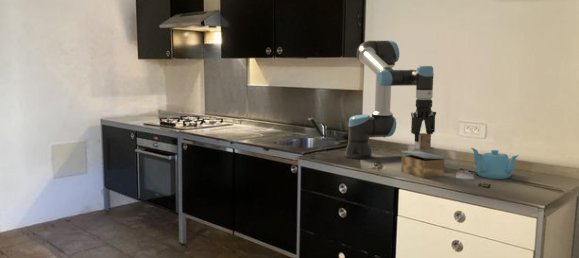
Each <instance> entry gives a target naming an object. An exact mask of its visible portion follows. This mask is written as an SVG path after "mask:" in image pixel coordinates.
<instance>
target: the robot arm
mask: <svg viewBox="0 0 579 258" xmlns="http://www.w3.org/2000/svg"><path fill="white" fill-rule="evenodd" d="M356 58H357V60H358V61H359V62H360V63H361V64H363V65H366V66H367V67H368V68H369V69H370V70H371V71H372V72H373V73H374V74H375V89H374V91H375V93H374V94H375V95H374V111H373V112H371V116H370V115H369V114H358V115H357V114H355V115H352V116H351V117H349V119H348V143H347V146H346V149H345V151H344V156H345V158H348V159H359V160H360V159H362V160H363V159H370V158H372V157H373V151H372V147H371V145H370V138H388V137H392V136H393V135H394V134H395V132H396V130H397V119H396V118H395V116H393V115H394V114H393V113H392V112H391V100H392V99H391V97H392V87H393V86H395V87H396V86H397V87H399V86H401V87H402V86H406V87H407V86H409V87H411V86H413V87H414V86H415V98H416V99H415V107H416V108H415V111H414V112H410V116H411V126H410V127H411V130H410V133H411V134H412V135H414V145H415V146H414V149H416V148H417V150H418V149H420V146H421V135H419V134H420V133H421V129H422V125H423V122H424V127H425V133H426V134H431V135H433V134H434V133H435V131H436V130H435V129H436V115H437V111H434V110H433V111H432V107H433V95H434V94H433V93H434V92H433V90H434V88H433V87H434V76H435V75H434V67H433V66H432V65H418V66H417V68H416V69H393V68H394V67H395V65H396V63H397V62H398V61H399V59H400V48H399V45H398V44H397V42H395V41H394V40H366V41H364V42H362V43H361V44H360V45H359V46H358V47H357V49H356Z"/></svg>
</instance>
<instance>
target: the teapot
mask: <svg viewBox="0 0 579 258" xmlns="http://www.w3.org/2000/svg"><path fill="white" fill-rule="evenodd" d="M470 149H471V150H472V151H473V155H474V156H473V157H474V158H473V159H474V160H473V161H474V162H473V163H474V164H475V172H476V174H477V175H478V176H479V177H481V178H485V179H491V180H505V179H506V180H507V179H508V178H510V177H511V176H512V175H513V172H514V171H515V167H516V159H517V158H518V157H519V156H520V155H519V154H518V155H513V156H511V158H510V160H509V155H508V154H507V153H500V152H499V150H497V149H491V150H490V152H485V153H483V154H481V153H479V151H478V150H477V149H476V148H474V147H471V148H470Z"/></svg>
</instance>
